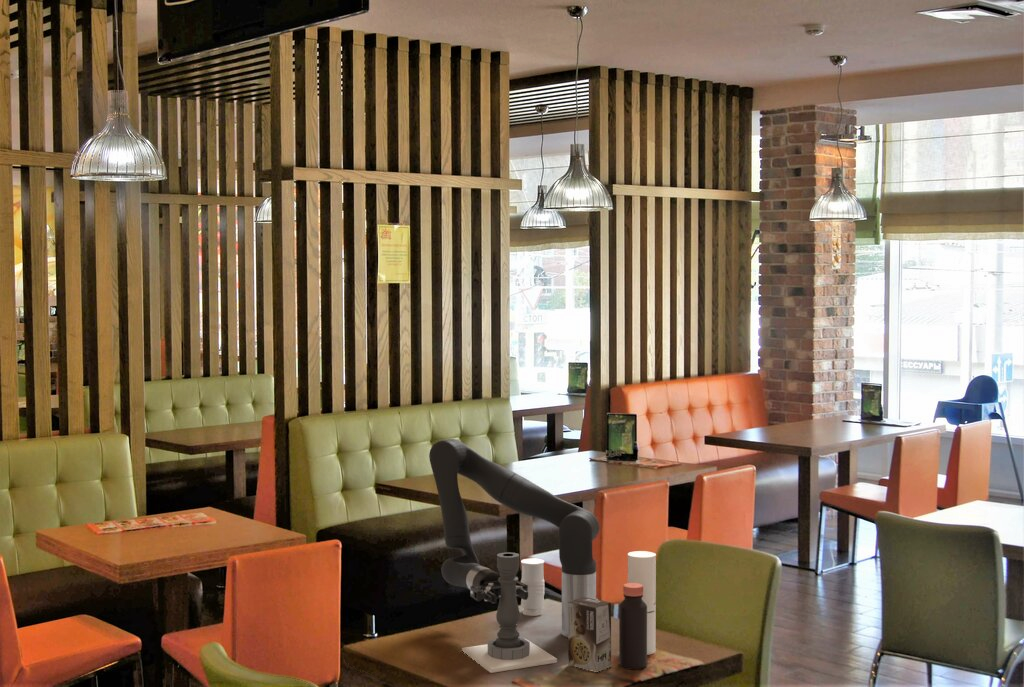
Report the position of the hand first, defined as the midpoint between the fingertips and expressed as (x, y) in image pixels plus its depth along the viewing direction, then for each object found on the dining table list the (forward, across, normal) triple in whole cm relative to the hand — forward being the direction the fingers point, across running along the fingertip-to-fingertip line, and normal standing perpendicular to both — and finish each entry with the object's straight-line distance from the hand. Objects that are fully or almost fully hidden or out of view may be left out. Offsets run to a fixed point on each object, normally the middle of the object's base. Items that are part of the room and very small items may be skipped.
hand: (510, 597), depth 284 cm
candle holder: (-2, 0, +15) cm, 15 cm away
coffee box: (+14, +15, +16) cm, 26 cm away
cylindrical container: (+9, +33, +16) cm, 38 cm away
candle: (-34, +23, +16) cm, 44 cm away
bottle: (+18, +25, +16) cm, 34 cm away
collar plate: (-1, 0, +16) cm, 16 cm away
